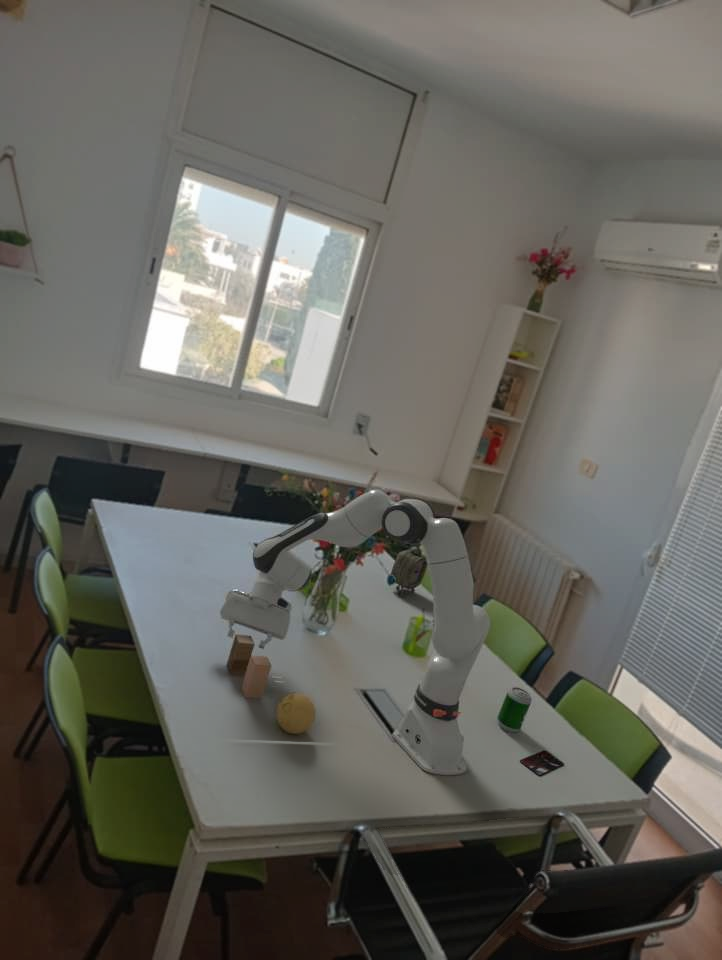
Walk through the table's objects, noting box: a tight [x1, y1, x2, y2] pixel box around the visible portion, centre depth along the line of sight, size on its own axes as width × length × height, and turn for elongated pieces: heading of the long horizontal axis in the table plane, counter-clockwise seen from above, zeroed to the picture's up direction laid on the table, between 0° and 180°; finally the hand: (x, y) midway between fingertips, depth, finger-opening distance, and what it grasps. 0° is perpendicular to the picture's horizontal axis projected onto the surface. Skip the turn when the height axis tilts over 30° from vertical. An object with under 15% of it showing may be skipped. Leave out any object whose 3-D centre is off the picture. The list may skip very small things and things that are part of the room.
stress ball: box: [275, 691, 316, 735], centre depth 188 cm, size 10×10×10 cm
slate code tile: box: [271, 675, 285, 684], centre depth 210 cm, size 8×8×1 cm
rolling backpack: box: [390, 543, 428, 597], centre depth 310 cm, size 14×9×25 cm, turn 148°
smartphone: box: [519, 749, 565, 777], centre depth 212 cm, size 7×1×15 cm
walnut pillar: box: [225, 634, 255, 677], centre depth 207 cm, size 4×4×10 cm
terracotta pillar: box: [241, 654, 272, 700], centre depth 198 cm, size 4×4×10 cm
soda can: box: [496, 686, 533, 733], centre depth 226 cm, size 8×8×12 cm
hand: (245, 642), depth 210 cm, fingers open, 8 cm apart
